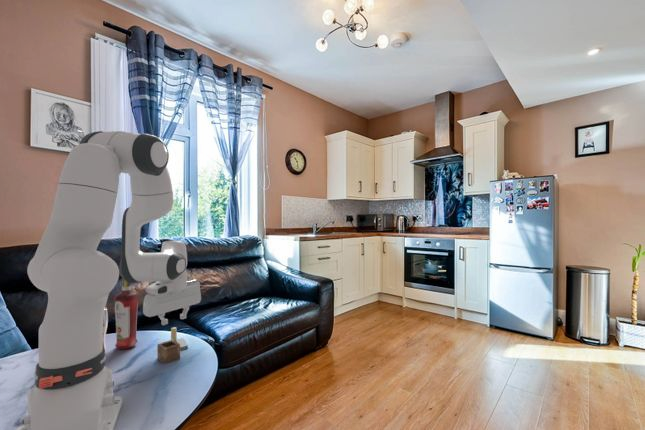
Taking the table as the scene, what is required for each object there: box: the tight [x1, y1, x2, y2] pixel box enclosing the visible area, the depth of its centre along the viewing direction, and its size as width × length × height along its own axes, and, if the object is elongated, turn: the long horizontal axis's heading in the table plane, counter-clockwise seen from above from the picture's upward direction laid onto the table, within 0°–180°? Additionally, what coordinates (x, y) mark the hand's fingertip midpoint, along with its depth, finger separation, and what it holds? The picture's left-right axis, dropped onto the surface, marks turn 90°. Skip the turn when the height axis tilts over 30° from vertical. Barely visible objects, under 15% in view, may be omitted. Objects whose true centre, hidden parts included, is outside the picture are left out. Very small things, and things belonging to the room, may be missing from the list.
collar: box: [156, 339, 181, 365], centre depth 98 cm, size 6×5×5 cm
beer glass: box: [103, 306, 109, 351], centre depth 103 cm, size 7×7×15 cm
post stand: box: [170, 326, 189, 351], centre depth 106 cm, size 8×8×7 cm
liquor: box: [113, 278, 139, 350], centre depth 106 cm, size 7×7×28 cm
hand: (174, 321), depth 106 cm, fingers open, 6 cm apart
